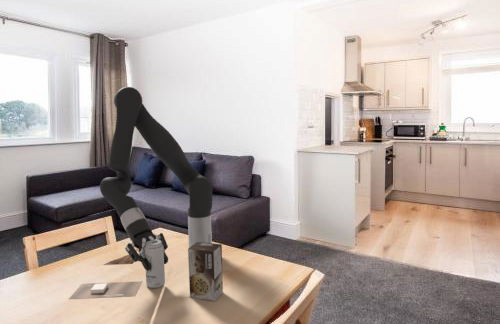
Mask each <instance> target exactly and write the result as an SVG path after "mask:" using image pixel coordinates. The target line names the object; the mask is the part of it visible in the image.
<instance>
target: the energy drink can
mask: <svg viewBox="0 0 500 324" xmlns="http://www.w3.org/2000/svg"><path fill="white" fill-rule="evenodd" d="M145 255H146V257H145V258H147V260H148V261H149V263H150V265H151V267H152V268H151V269H150V270H149V271H147V270H145V283H146V284H145V285H146V286H147V287H148V288H150V289H159V288H162V286H164V284H165V283H166V274H165V273H166V272H165V264H164V246H163V245H162V243H161V241H160V240H157V239H156V240H150V241H148V242H147V243H146V246H145Z"/></svg>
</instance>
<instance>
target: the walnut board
mask: <svg viewBox="0 0 500 324" xmlns="http://www.w3.org/2000/svg"><path fill="white" fill-rule="evenodd" d="M104 283H105V282H95V283H94V282H93V283H91V282H90V283H89V282H88V283H81V284H80V285H79V286H78V288H76V290H74V292H73V293H72V294H71V296H70V297H68V300H83V299H85V300H86V299H103V298H105V299H106V298H125V297H136V295H137V294H138V291H139V290H140V287H141V286H142V283H143V280H141V281H138V280H137V281H117V282H112V281H111V282H107V283H108V287H107V289H106V290H105V292H104V293H91V289H92V287H93V286H94V285H95V284H104Z"/></svg>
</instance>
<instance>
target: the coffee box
mask: <svg viewBox="0 0 500 324" xmlns="http://www.w3.org/2000/svg"><path fill="white" fill-rule="evenodd" d="M222 253H223V247H222V244H221V243H213V242H212V243H204V242H196V243H195V244H193V245H192V246H191V247H190V248H189V247H188V248H187V257H188V279H189V280H188V281H189V283H188V284H189V297H190V298H194V299H200V300H207V301H213V302H216V301H217V300H218V299H219V298H220V296H221V295H222V294H223V293H224V290H223V289H224V288H223V287H224V286H223V254H222Z"/></svg>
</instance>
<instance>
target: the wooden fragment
mask: <svg viewBox="0 0 500 324" xmlns="http://www.w3.org/2000/svg"><path fill="white" fill-rule="evenodd" d="M132 263H135V262H134V261H133V259H132V258H131V256H130V255H129V254H126V255H123V256H121V257H120V258H116V259H113V260H110V261H108V262H106V263H104V264H103V266H112V265H114V266H115V265H131V264H132Z"/></svg>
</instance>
